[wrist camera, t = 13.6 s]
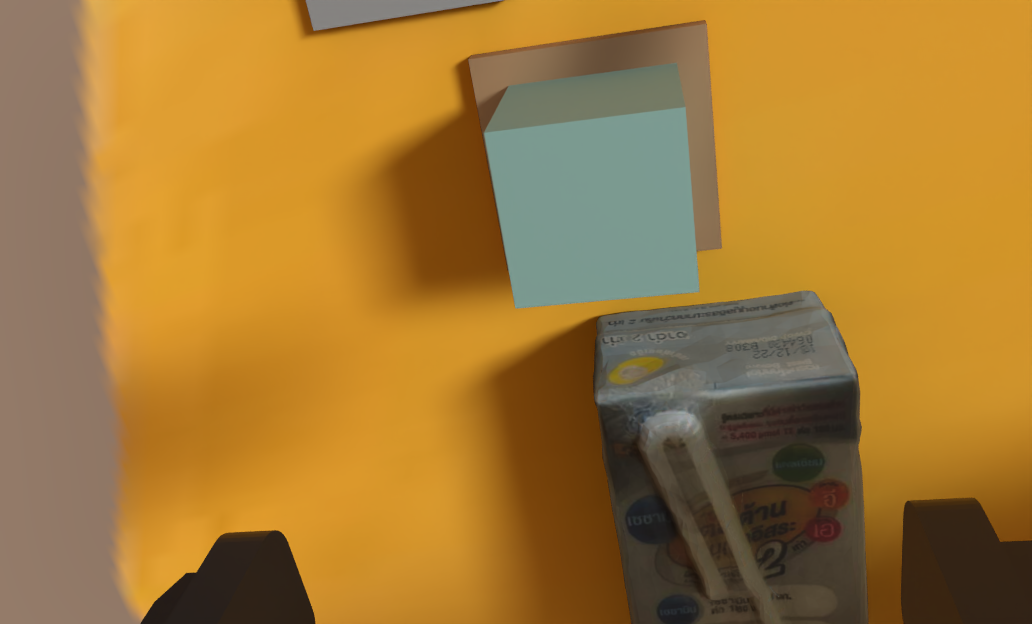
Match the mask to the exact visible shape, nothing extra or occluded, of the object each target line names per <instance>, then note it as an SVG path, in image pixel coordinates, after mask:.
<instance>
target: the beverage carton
mask: <svg viewBox="0 0 1032 624" xmlns="http://www.w3.org/2000/svg"><path fill="white" fill-rule="evenodd" d="M596 328H597V337H596V340H595V358H594V375H593V387H594V400H595V404H596V406H597V409H598V416H599V423H600V430H601V438H602V455H603V461H604V465H605V469H606V473H607V477H608V486H609V492H610V498H611V504H612V511H613V515H614V521H615V526H616V531H617V537H618V542H619V548H620V554H621V561H622V567H623V574H624V581H625V588H626V592H627V598H628V604H629V610H630V616H631V623H632V624H868V597H867V576H866V556H865V524H864V501H863V482H862V468H861V461H860V455H859V450H858V444H859V441H860V435H861V429H862V426H861V422H860V419H859V416H860V388H859V381H858V374H857V371H856V369H855V367H854V365H853V363H852V361H851V359H850V358H849V356H848V352H847V348H846V345H845V342H844V340H843V338H842V336H841V334H840V332H839V330H838V328H837V326H836V324H835V321H834V318H833V316H832V314H831V312H829V311H828V310H826V309H825V307H824V306H823V304H822V302H821V301H820V299H819V298H818V296H817V295H816V294H815V292H812V291H799V292H794V293H788V294H783V295H775V296H767V297H760V298H753V299H746V300H738V301H729V302H718V303H710V304H700V305H692V306H682V307H672V308H662V309H655V310H647V311H632V312H624V313H617V314H611V315H605V316H601V317H599V318H598V320H597V323H596Z"/></svg>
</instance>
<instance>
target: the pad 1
mask: <svg viewBox="0 0 1032 624" xmlns="http://www.w3.org/2000/svg"><path fill="white" fill-rule="evenodd" d="M496 1H502V0H306V3H307V7H308V11H309V15H310V19H311V23H312V26H313V30H314V31H316V30H322V29H328V28H334V27H341V26H347V25H353V24H359V23H365V22H372V21H378V20H384V19H390V18H397V17H403V16H409V15H415V14H421V13H428V12H434V11H440V10H446V9H452V8H459V7H465V6H471V5H477V4H484V3H490V2H496Z"/></svg>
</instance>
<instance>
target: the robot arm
mask: <svg viewBox="0 0 1032 624" xmlns="http://www.w3.org/2000/svg"><path fill="white" fill-rule="evenodd" d="M901 606H902V615H903V622H904V624H1032V541H1012V542H1000V541H999V539H998V537H997V535H996V533H995V531H994V529H993V527H992V525H991V523H990V522H989V520H988V518H987V516H986V514H985V512H984V510H983V508H982V506H981V505H980V503H979V502H978V501H977V500H976V499H975V498H955V499H935V500H915V501H907V502H906V504H905V507H904V516H903V545H902V576H901ZM141 624H315V617H314V612H313V609H312V606H311V604H310V601H309V598H308V595H307V593H306V590H305V587H304V585H303V582H302V579H301V577H300V574H299V571H298V568H297V566H296V563H295V560H294V558H293V555H292V552H291V549H290V547H289V544H288V542H287V539H286V538H285V536H284V535H283V534H282V533H281V532H279V531H276V530H274V531H254V532H234V533H225V534H223V535H221V536H220V537H219V538H218V539H217V541H216V542H215V543H214V545H213V547H212V548H211V550H210V551H209V553H208V555H207V556H206V558H205V560H204V561H203V563H202V564H201V566H200V568H199V569H198V571H197V573H186V574H185V575H184V576H183V577H182V578H181V579H179V580H178V581H177V582H176V583H175V584H174V585H173V586H172V587H171V588H169V589H168V590H167V591H166V592H165V593H164V594H163V595H162V596H161V597H160V598H158V599H157V600H156V601H155V602H154V604H153V605H152V607H151V608H150V610H149V611H148V613H147V614H146V616H145V617H144V619H143V620H142V622H141Z"/></svg>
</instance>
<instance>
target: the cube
mask: <svg viewBox="0 0 1032 624" xmlns="http://www.w3.org/2000/svg"><path fill="white" fill-rule="evenodd" d="M484 136H485V142H486V147H487V153H488V159H489V164H490V170H491V175H492V181H493V186H494V192H495V197H496V203H497V208H498V214H499V219H500V225H501V230H502V236H503V242H504V247H505V253H506V258H507V264H508V269H509V275H510V280H511V286H512V291H513V297H514V302H515V308H526V307H538V306H549V305H560V304H571V303H582V302H593V301H604V300H615V299H626V298H637V297H649V296H660V295H671V294H682V293H693V292H699V280H698V267H697V253H696V240H695V226H694V213H693V200H692V186H691V173H690V160H689V146H688V133H687V119H686V107H685V102H684V97H683V92H682V87H681V82H680V77H679V72H678V67H677V63H671V64H664V65H657V66H649V67H642V68H635V69H627V70H620V71H613V72H605V73H598V74H591V75H583V76H576V77H569V78H561V79H554V80H547V81H539V82H532V83H525V84H517V85H510V86H508V88H507V90H506V92H505V94H504V96H503V98H502V99H501V101H500V103H499V105H498V107H497V109H496V111H495V113H494V115H493V116H492V118H491V120H490V122H489V124H488V126H487V128H486V130H485V132H484Z"/></svg>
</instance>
